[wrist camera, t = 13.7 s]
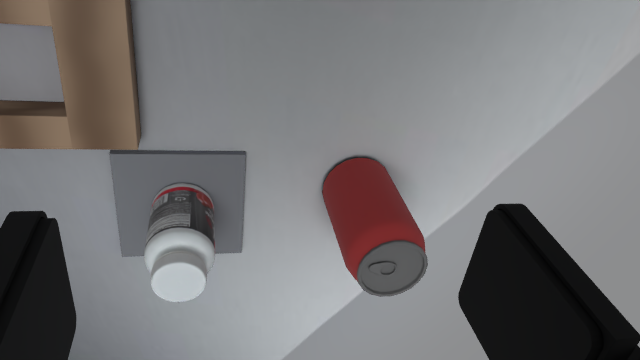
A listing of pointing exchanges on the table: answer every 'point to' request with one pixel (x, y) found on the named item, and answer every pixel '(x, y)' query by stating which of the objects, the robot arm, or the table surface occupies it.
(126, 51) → the brown flat hollow frame
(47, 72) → the table surface
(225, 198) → the charcoal mat
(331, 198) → the beer can
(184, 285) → the pill bottle
